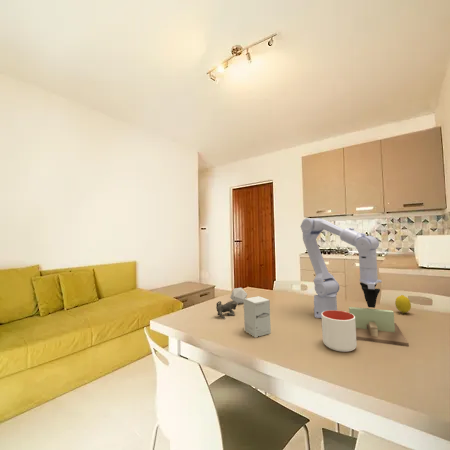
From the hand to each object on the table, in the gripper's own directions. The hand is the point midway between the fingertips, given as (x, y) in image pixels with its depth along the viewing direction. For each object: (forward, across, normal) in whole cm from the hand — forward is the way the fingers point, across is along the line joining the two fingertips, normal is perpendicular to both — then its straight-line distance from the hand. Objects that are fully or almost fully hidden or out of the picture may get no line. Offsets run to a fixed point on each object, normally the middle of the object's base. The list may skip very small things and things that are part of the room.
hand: (370, 304), depth 90 cm
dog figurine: (+10, -4, +58) cm, 59 cm away
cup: (+10, -18, +11) cm, 23 cm away
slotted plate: (+8, -2, 0) cm, 9 cm away
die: (+10, +16, +60) cm, 63 cm away
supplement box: (+10, -17, +39) cm, 44 cm away
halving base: (+9, -2, 0) cm, 10 cm away
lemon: (+10, +24, -15) cm, 30 cm away
